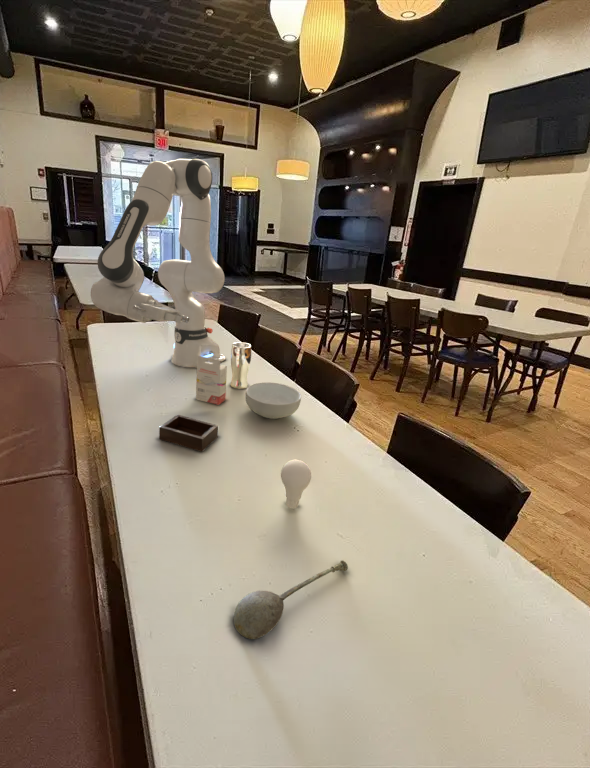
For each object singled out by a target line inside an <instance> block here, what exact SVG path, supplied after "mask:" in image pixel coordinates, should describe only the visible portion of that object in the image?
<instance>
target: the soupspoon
mask: <svg viewBox="0 0 590 768" xmlns="http://www.w3.org/2000/svg"><path fill="white" fill-rule="evenodd" d="M348 569H349V566H348V563H347V562H346V561H345V560H340V562H339V563H338V564H336V565H334V566H330V567H329V568H328V569H325V570H323V571H321V572H319V573H317V574H315V575H312V576H311V577H309V578H307V579H305V580H304V581H302V582H300V583H298V584H296V585H294V586H292V587H290V588H289V589H287V590H285V591H284V592H282V593H280V594H276V593H274V592H272V591H268V590H255V591H252V592H250V593H248V594H246V595H245V596H243V597H242V598H241V600H240V601H238V603H237V604H236V607H235V609H234V612H233V624H234V628H235V630H236V631H237V633H238V634H240V635H241V636H242V637H244V638H245V639H247V640H257V639H260V638H262V637H264V636H266V635H267V634H268V633H270V632H271V631H272V630H273V629H274V628H275V627H276V626H277V624H278V623H279V621H280V620H281V618H282V616H283V613H284V607H285V606H284V600H286V599H287V598H288V597H290V596H292V595H293V594H295V593H296V592H298V591H300V590H301V589H303V588H304V587H306V586H308V585H310V584H312V583H313V582H315V581H317V580H319V579H321V578H323V577H324V576H326V575H329V574H330V573H335V572H338V571H343V572H346V571H348Z"/></svg>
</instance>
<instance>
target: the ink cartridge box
mask: <svg viewBox="0 0 590 768" xmlns="http://www.w3.org/2000/svg"><path fill="white" fill-rule="evenodd" d="M205 361H210V362H212V363H209V362H205ZM221 363H222V361H220V360H216V359H212V358H207V357H202V356H198V361H197V367H196V381H195V382H196V383H195V386H196V387H195V400H198V401H201V402H206V403H209V404H213V405H216V406H219V405H221V404H222V403H224V402H225V401H226V399H227V373H228V366H227V365H224V364H223V365H222V364H221Z"/></svg>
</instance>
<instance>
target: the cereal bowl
mask: <svg viewBox="0 0 590 768" xmlns="http://www.w3.org/2000/svg"><path fill="white" fill-rule="evenodd" d="M245 389H246V390H245V402H246V403H245V404H246V405H247V407H248V408H249V409H250V410H251V411H252V412H253V413H255V414H257V415H259V416H261V417H263V418H265V419H271V420H276V419H282V418H286V417H290V416H292V415H293V414H294V413H296V412H297V411H298V409H299V407H300V405H301V402H302V394H301V392H300V391H299V390H297V388H294V387H292V386H289V385H286V384H285V383H284V384H283V383H279V382H272V381H271V382H268V381H266V382H257V383H253V384H251V385H248V386H247V388H245Z"/></svg>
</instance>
